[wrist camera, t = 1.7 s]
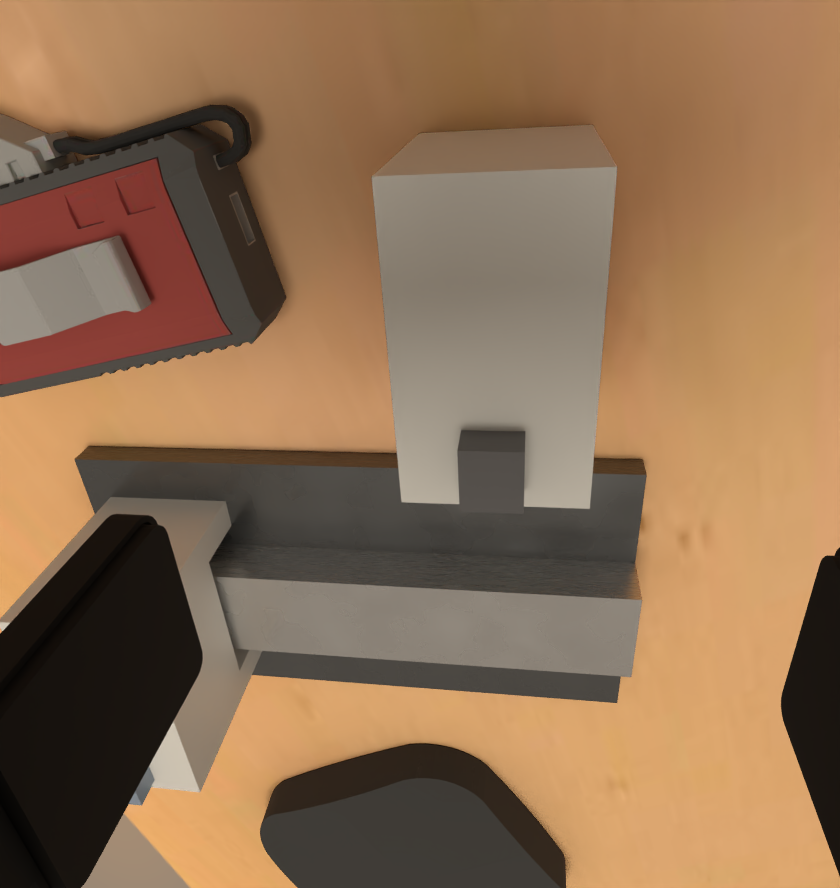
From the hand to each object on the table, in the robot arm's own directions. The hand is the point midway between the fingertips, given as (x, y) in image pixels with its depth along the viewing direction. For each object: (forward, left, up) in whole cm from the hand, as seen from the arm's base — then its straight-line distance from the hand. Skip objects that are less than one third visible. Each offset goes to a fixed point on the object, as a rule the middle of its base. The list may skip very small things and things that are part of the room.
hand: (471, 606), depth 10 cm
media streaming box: (+32, -5, -15) cm, 36 cm away
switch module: (-1, 0, -15) cm, 15 cm away
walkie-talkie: (-1, -17, -15) cm, 23 cm away
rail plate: (+12, -6, -15) cm, 20 cm away
